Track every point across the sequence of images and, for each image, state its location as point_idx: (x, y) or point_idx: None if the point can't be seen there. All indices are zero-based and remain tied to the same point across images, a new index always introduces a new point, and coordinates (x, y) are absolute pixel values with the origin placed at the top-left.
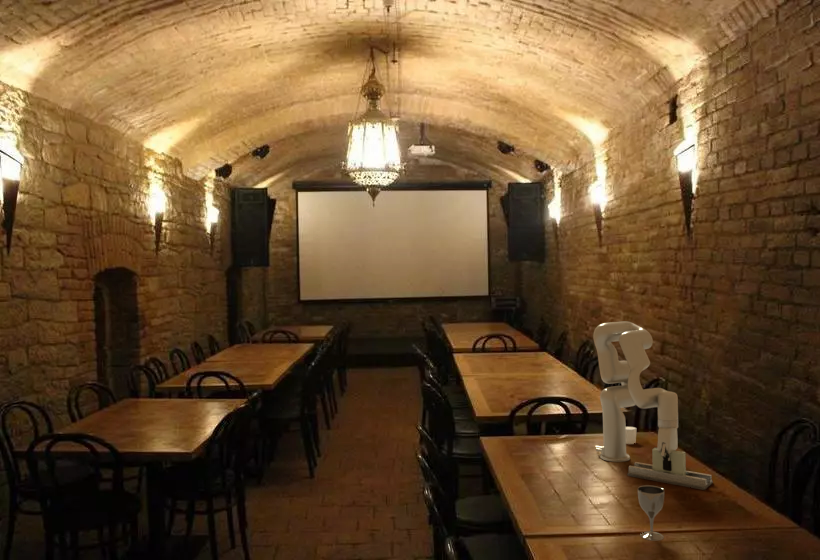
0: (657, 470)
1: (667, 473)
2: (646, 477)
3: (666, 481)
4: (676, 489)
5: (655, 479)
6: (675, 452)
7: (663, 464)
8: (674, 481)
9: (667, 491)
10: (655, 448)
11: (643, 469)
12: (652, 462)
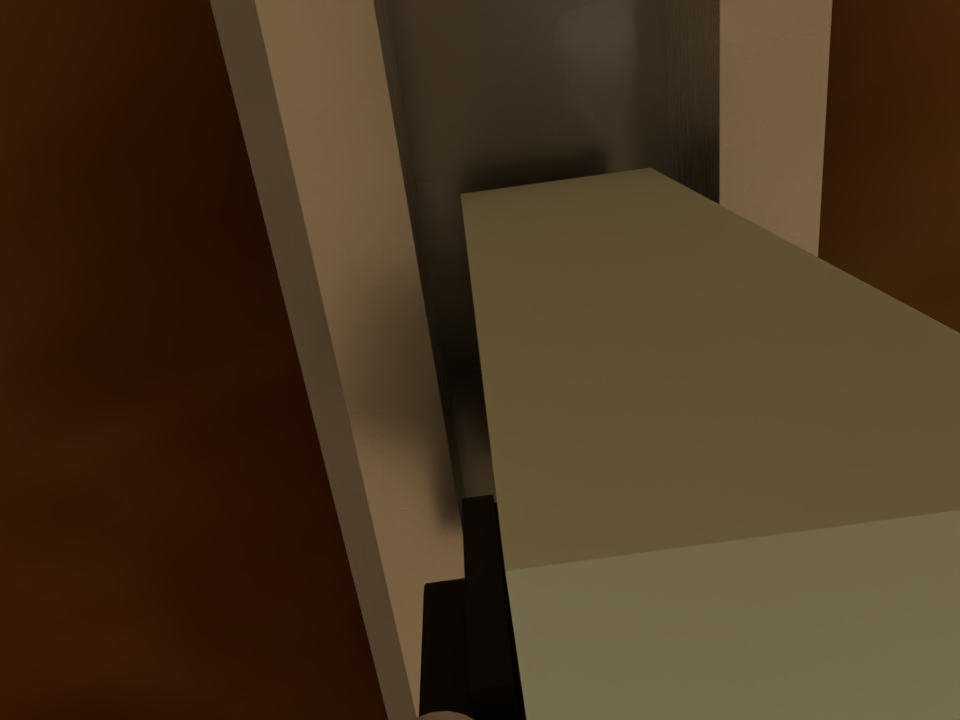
0: (420, 363)
1: (390, 591)
2: (247, 136)
3: (341, 511)
4: (193, 702)
5: (296, 326)
6: None
7: (467, 595)
8: (387, 624)
9: (7, 667)
10: (876, 647)
11: (263, 10)
12: (469, 249)
